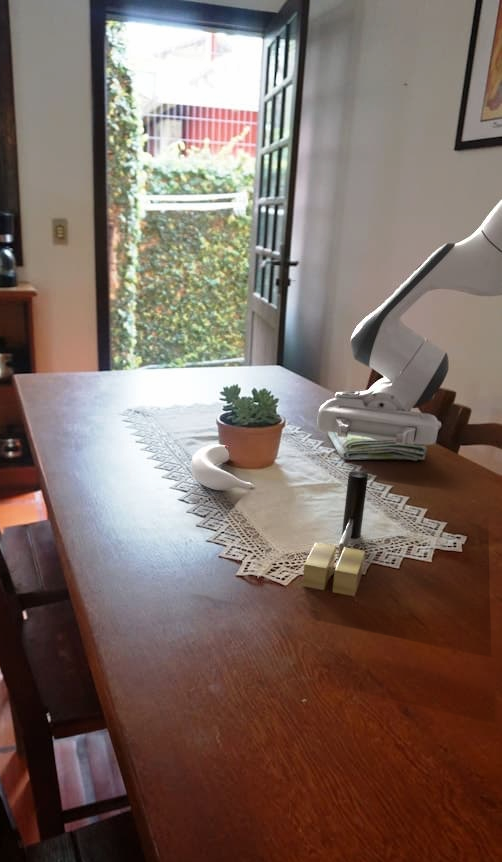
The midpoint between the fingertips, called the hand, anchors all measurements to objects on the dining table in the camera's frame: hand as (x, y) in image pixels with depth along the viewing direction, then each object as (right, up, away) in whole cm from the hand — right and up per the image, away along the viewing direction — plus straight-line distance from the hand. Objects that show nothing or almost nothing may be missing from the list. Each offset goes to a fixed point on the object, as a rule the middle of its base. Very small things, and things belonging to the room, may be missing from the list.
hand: (371, 436), depth 111 cm
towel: (+9, +1, +38) cm, 39 cm away
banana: (-22, -6, +19) cm, 30 cm away
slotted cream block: (-7, -20, -13) cm, 25 cm away
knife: (-6, -17, -10) cm, 21 cm away
